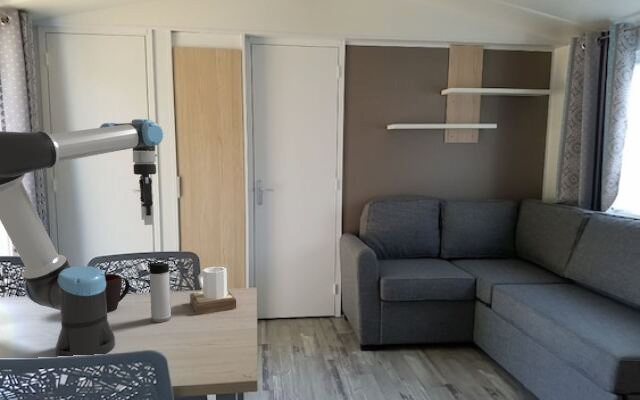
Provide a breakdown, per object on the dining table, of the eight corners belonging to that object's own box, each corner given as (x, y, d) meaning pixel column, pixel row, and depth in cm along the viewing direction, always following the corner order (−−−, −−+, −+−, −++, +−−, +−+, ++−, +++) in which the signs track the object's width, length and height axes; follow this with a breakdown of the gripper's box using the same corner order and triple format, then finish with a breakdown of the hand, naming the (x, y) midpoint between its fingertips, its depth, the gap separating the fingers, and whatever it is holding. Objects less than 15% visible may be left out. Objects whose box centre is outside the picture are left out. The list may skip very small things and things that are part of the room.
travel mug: (146, 321, 148) (144, 263, 146) (161, 314, 154) (159, 259, 152) (159, 324, 145) (157, 265, 143) (174, 317, 151) (172, 261, 149)
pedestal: (236, 308, 160) (236, 298, 160) (197, 314, 154) (196, 303, 154) (226, 297, 173) (226, 287, 172) (190, 302, 167) (190, 292, 166)
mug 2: (231, 293, 164) (230, 268, 163) (215, 300, 157) (215, 273, 156) (207, 289, 170) (206, 264, 169) (191, 295, 163) (190, 269, 162)
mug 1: (85, 311, 157) (83, 279, 156) (121, 300, 169) (119, 270, 167) (101, 317, 152) (99, 283, 150) (136, 305, 163) (135, 274, 162)
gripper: (159, 163, 147) (161, 226, 149) (152, 162, 169) (154, 216, 172) (135, 164, 144) (138, 227, 146) (131, 162, 166) (133, 218, 168)
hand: (147, 222), depth 159 cm, fingers open, 13 cm apart
